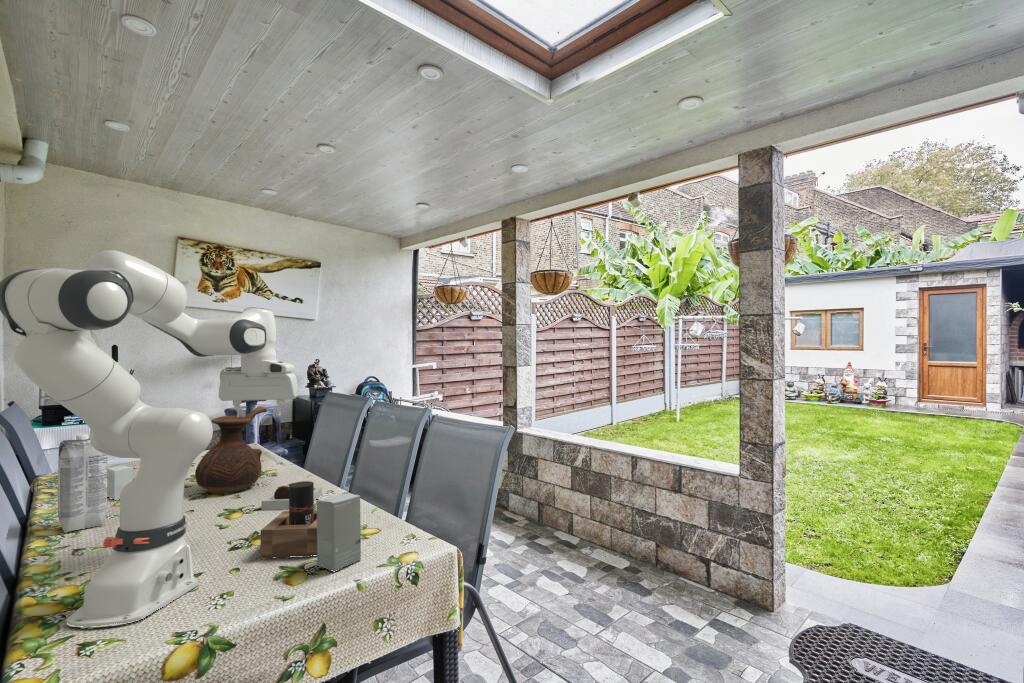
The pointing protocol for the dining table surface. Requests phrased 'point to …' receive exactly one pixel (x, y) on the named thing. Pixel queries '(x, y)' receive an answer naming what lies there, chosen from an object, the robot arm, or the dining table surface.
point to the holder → (288, 538)
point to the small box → (118, 480)
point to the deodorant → (301, 503)
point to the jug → (230, 458)
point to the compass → (282, 493)
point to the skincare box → (338, 531)
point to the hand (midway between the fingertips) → (259, 416)
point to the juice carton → (81, 484)
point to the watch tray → (284, 501)
